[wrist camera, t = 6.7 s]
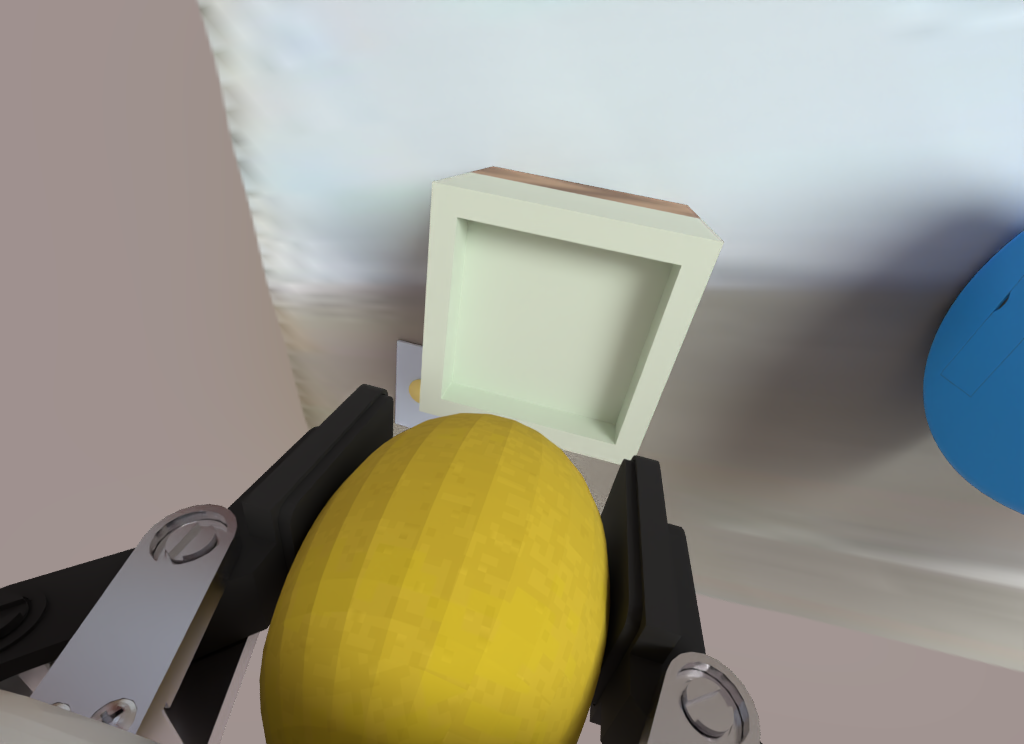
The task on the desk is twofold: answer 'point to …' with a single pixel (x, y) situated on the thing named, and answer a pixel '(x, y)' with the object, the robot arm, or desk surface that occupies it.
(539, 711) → the lemon
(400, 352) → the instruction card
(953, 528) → the desk surface
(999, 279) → the alarm clock
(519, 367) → the top brick
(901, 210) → the desk surface
